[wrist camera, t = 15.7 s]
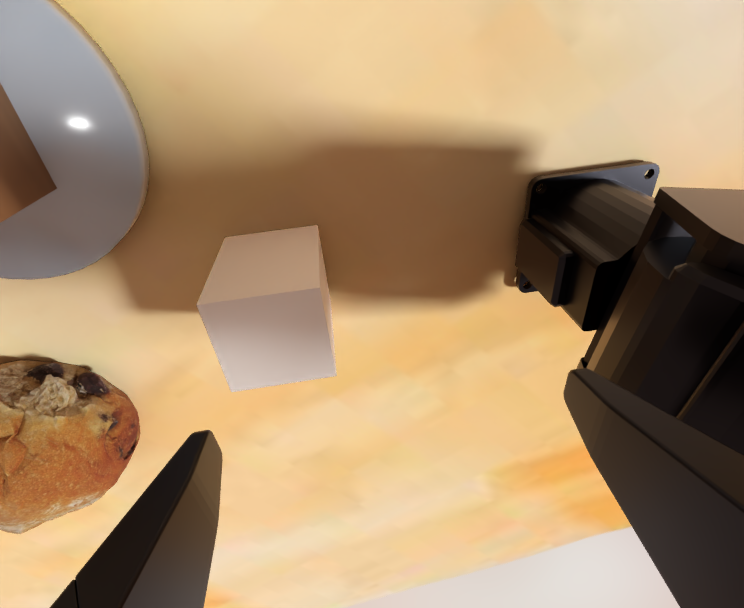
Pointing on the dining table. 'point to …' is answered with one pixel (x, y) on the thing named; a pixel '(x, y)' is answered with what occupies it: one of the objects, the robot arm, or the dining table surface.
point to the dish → (69, 143)
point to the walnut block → (19, 164)
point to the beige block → (270, 309)
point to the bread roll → (59, 440)
